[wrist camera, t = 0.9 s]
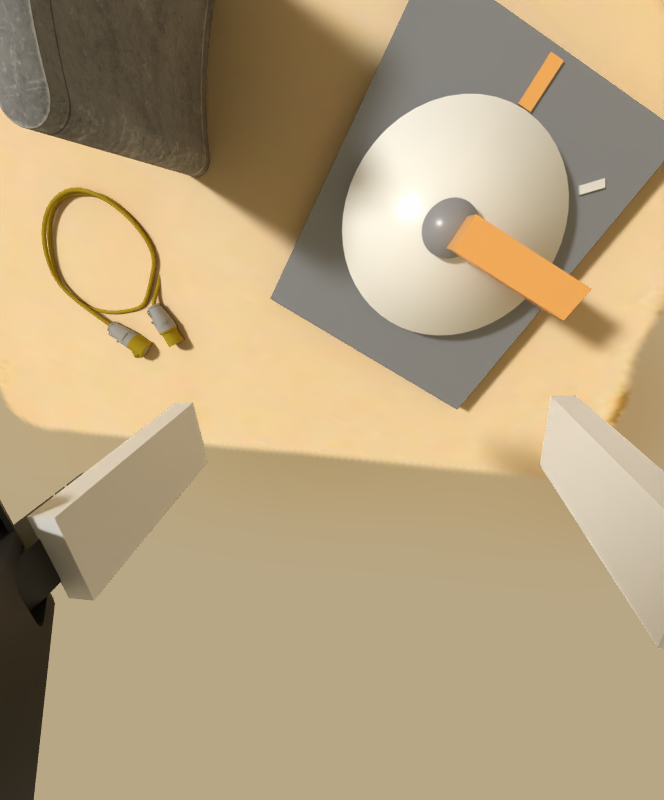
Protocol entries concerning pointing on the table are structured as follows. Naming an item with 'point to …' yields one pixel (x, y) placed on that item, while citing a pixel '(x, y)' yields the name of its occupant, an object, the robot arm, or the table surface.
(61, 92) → the flask
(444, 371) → the dial housing
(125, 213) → the extension cord
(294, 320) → the table surface
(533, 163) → the dial
